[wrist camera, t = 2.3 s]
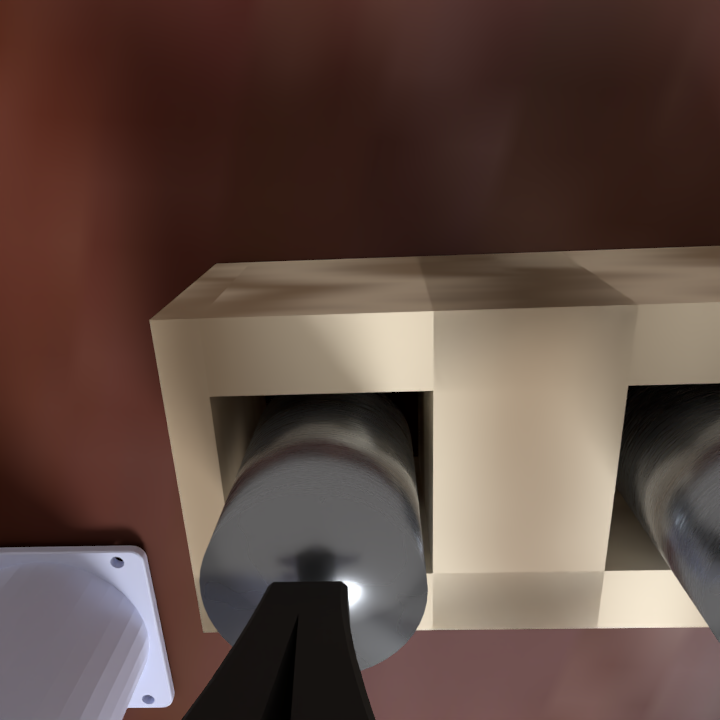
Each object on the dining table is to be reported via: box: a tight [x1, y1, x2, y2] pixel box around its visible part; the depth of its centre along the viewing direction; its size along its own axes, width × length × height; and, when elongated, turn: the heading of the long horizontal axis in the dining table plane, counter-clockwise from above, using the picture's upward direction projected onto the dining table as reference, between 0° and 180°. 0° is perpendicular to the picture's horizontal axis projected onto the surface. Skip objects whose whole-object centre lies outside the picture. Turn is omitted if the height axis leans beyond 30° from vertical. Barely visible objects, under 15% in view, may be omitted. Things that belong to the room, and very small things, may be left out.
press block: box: [149, 246, 720, 632], centre depth 18 cm, size 17×9×6 cm, turn 92°
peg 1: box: [199, 392, 428, 671], centre depth 14 cm, size 4×4×6 cm
